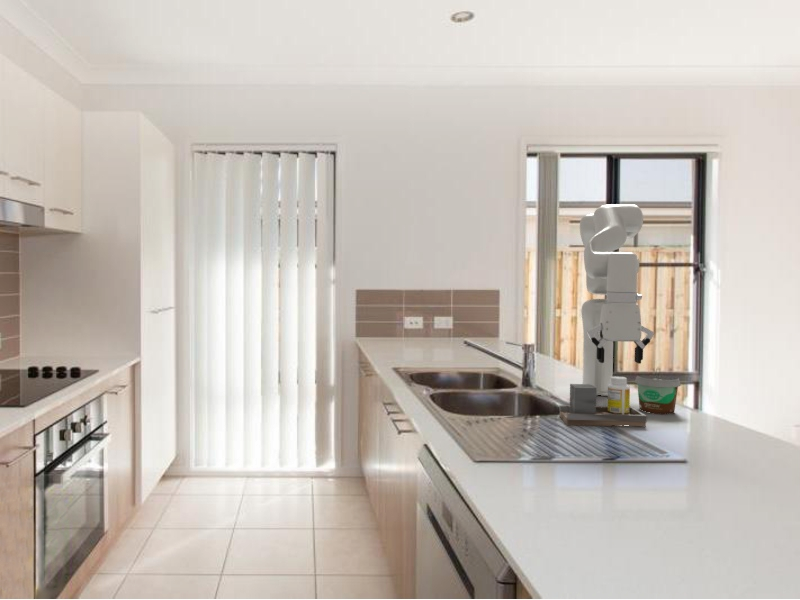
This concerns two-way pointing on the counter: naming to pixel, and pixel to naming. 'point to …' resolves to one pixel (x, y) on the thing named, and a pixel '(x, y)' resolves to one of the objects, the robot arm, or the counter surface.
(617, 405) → the supplement bottle
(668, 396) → the food container
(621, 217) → the robot arm
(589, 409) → the wooden tray
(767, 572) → the counter surface
